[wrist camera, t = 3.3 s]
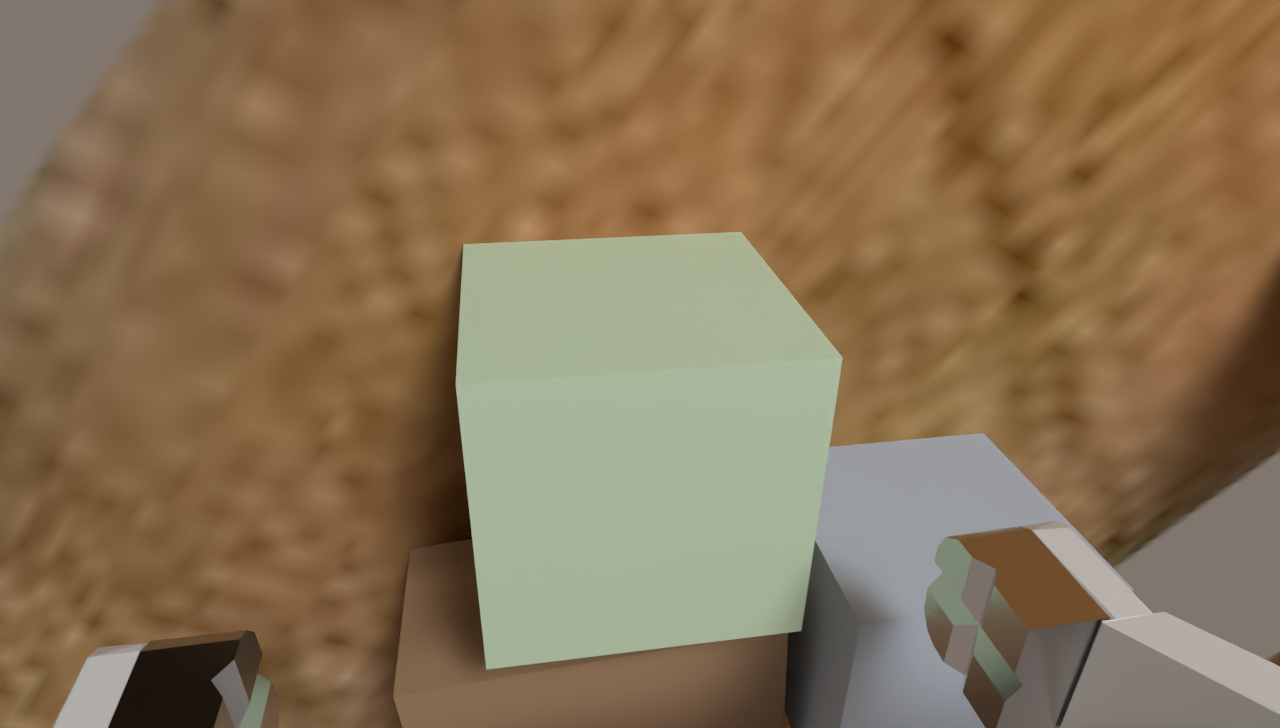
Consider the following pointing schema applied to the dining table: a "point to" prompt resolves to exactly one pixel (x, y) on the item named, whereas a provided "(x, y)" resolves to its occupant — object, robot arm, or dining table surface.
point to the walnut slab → (567, 670)
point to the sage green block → (638, 443)
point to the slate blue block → (895, 579)
